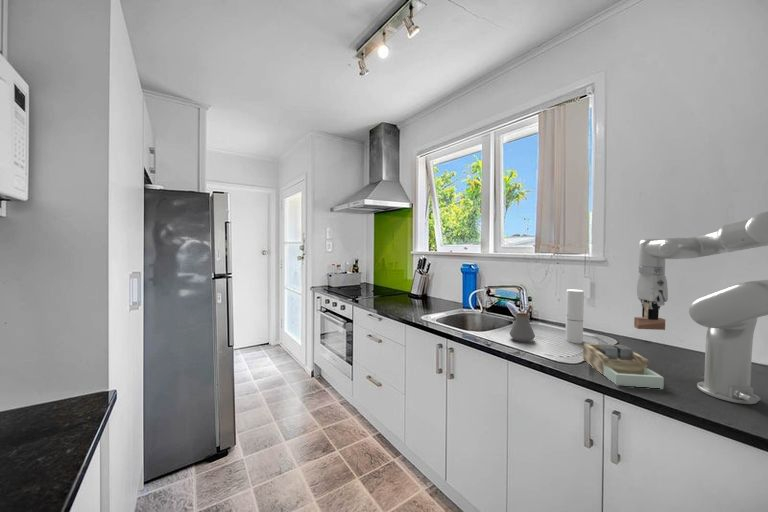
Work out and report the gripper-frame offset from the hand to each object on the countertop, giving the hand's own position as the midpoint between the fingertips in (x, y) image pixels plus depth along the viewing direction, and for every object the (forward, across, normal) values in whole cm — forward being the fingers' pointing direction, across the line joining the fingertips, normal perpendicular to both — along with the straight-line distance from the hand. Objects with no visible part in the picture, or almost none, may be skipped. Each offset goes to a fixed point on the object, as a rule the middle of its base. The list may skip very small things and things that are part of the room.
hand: (650, 318), depth 115 cm
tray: (+19, -16, +15) cm, 29 cm away
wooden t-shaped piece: (+4, 0, 0) cm, 4 cm away
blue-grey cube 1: (+14, -6, +12) cm, 20 cm away
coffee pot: (+19, +30, +37) cm, 51 cm away
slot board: (+19, -4, +15) cm, 25 cm away
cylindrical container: (+19, +28, +15) cm, 37 cm away
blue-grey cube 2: (+14, -6, +17) cm, 23 cm away
